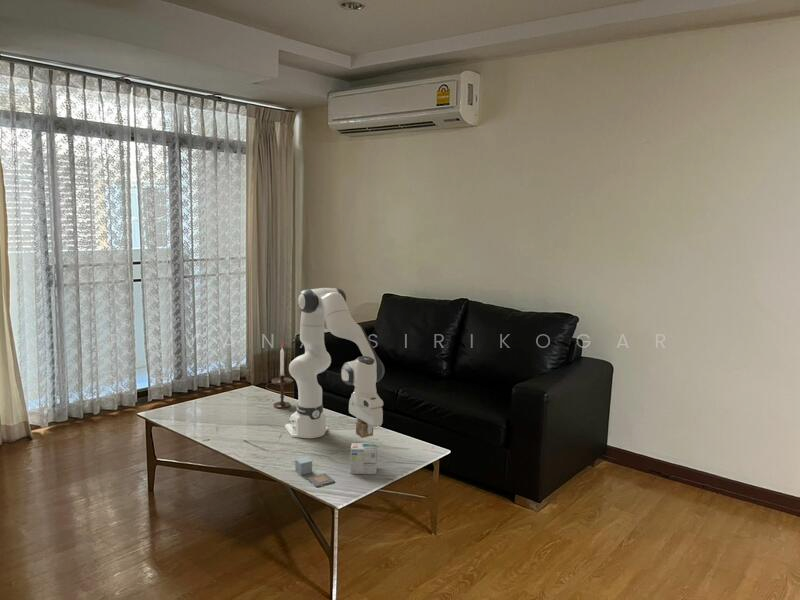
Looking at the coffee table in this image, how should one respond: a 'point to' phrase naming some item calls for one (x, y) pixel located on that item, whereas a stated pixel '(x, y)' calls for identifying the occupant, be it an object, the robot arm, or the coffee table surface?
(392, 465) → the coffee table surface
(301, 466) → the slate block
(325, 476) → the tile
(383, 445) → the coffee table surface
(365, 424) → the walnut block
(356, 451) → the light bulb box
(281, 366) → the candlestick
